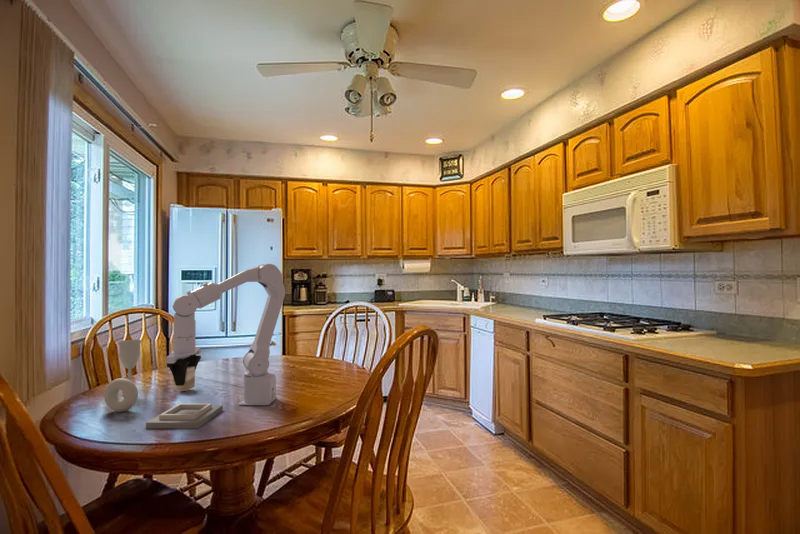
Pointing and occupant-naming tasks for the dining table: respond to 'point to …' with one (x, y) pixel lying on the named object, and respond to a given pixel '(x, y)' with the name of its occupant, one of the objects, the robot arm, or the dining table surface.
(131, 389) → the donut
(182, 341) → the robot arm
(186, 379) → the block
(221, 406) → the base
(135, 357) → the chalice
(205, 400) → the dining table surface
